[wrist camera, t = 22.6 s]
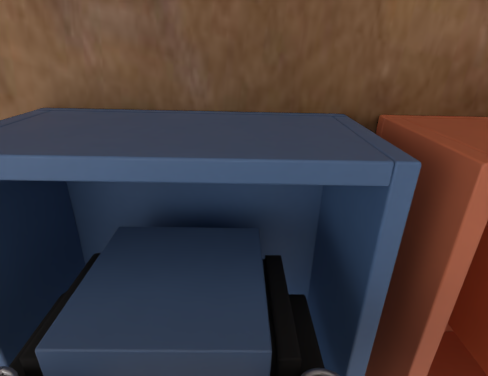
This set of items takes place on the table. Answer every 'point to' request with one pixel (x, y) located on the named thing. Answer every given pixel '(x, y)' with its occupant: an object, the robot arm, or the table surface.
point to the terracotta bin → (433, 246)
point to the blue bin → (205, 205)
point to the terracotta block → (474, 306)
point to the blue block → (166, 308)
